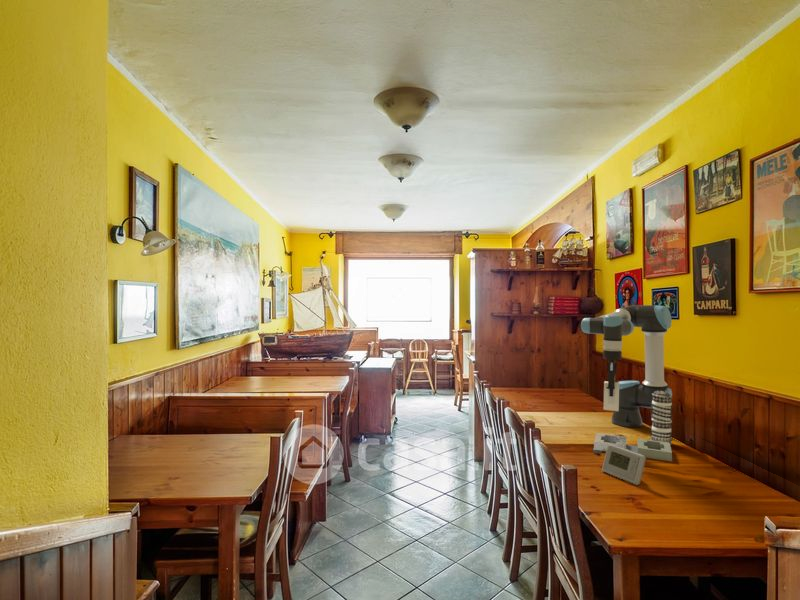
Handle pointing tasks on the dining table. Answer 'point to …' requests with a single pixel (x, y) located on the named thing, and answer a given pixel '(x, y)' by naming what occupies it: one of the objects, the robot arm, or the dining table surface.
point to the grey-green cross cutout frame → (655, 449)
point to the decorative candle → (661, 417)
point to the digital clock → (624, 464)
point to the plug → (615, 406)
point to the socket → (608, 441)
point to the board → (630, 447)
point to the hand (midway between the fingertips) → (611, 402)
